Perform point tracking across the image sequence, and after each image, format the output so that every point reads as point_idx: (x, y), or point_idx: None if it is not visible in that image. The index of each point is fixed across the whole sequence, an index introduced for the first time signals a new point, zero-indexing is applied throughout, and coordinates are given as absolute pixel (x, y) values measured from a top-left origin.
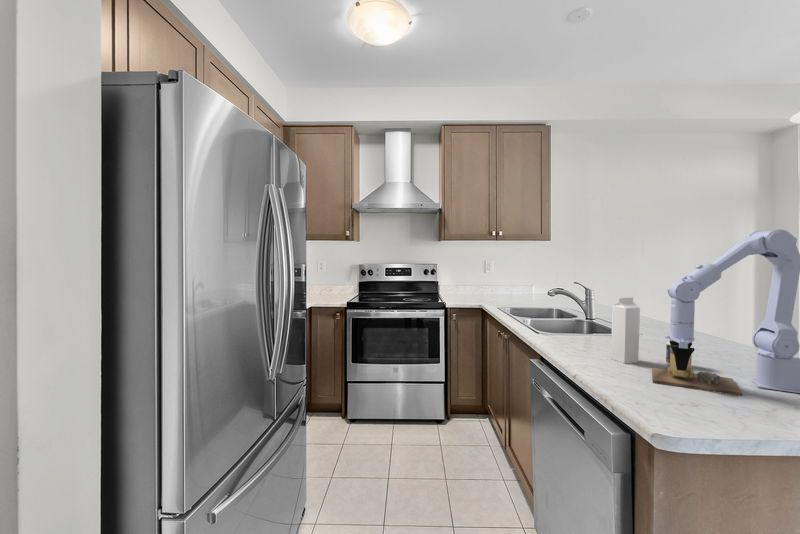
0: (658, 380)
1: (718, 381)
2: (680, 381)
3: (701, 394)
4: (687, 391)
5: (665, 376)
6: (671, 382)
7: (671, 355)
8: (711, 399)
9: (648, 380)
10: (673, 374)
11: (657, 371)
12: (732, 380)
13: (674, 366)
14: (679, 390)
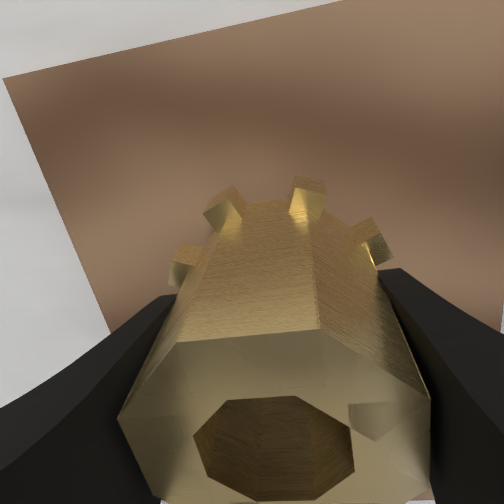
0: (34, 127)
1: None
2: (155, 273)
3: (46, 364)
4: (33, 306)
5: (220, 160)
6: (67, 224)
7: (178, 331)
8: (3, 398)
9: (61, 27)
10: (211, 235)
11: (376, 57)
12: (424, 496)
13: (189, 282)
14: (9, 268)
